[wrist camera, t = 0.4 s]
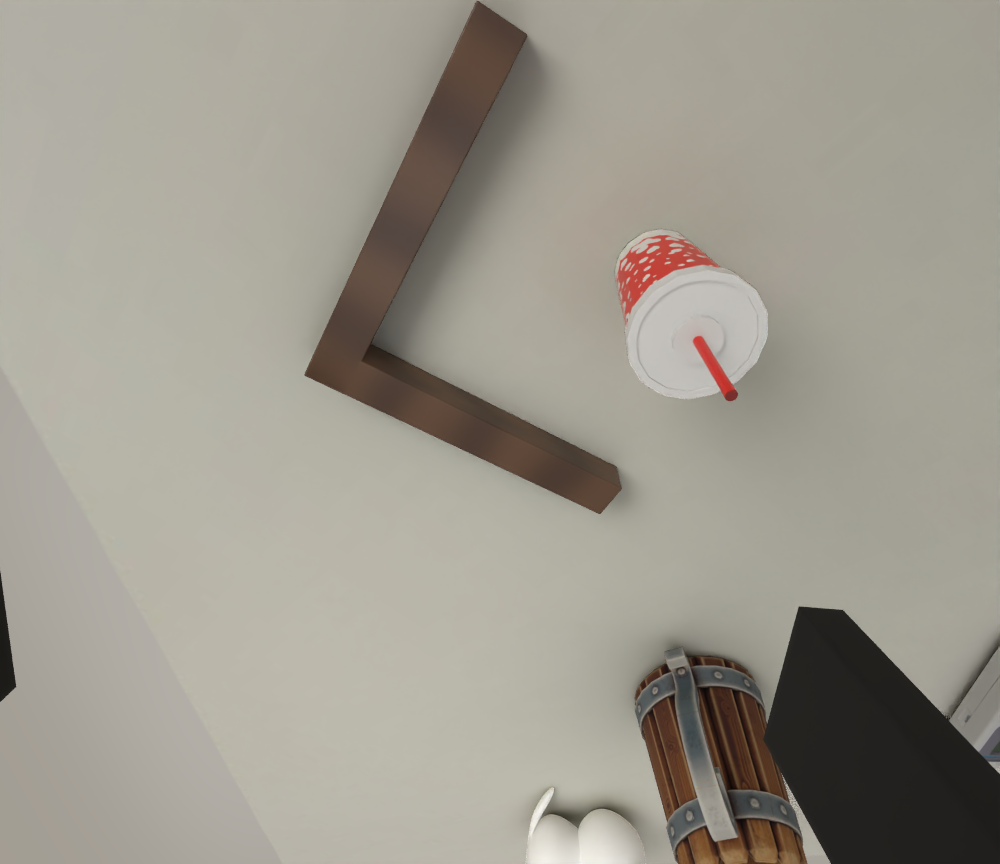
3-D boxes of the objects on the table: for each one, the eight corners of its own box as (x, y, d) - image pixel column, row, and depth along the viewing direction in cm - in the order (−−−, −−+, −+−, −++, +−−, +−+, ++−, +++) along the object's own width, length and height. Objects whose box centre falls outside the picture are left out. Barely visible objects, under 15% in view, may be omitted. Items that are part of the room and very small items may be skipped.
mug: (766, 710, 57) (839, 905, 45) (651, 736, 60) (690, 929, 47) (727, 598, 49) (803, 795, 37) (597, 633, 52) (627, 830, 39)
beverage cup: (604, 215, 34) (657, 319, 22) (720, 213, 34) (836, 316, 22) (597, 323, 37) (640, 463, 25) (703, 321, 37) (795, 461, 25)
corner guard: (516, -10, 29) (517, -13, 27) (620, 486, 44) (626, 509, 42) (191, 95, 31) (170, 101, 29) (397, 532, 46) (392, 555, 44)
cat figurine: (523, 926, 60) (653, 929, 59) (519, 814, 60) (649, 815, 59) (526, 863, 69) (639, 864, 68) (523, 764, 69) (636, 765, 68)
